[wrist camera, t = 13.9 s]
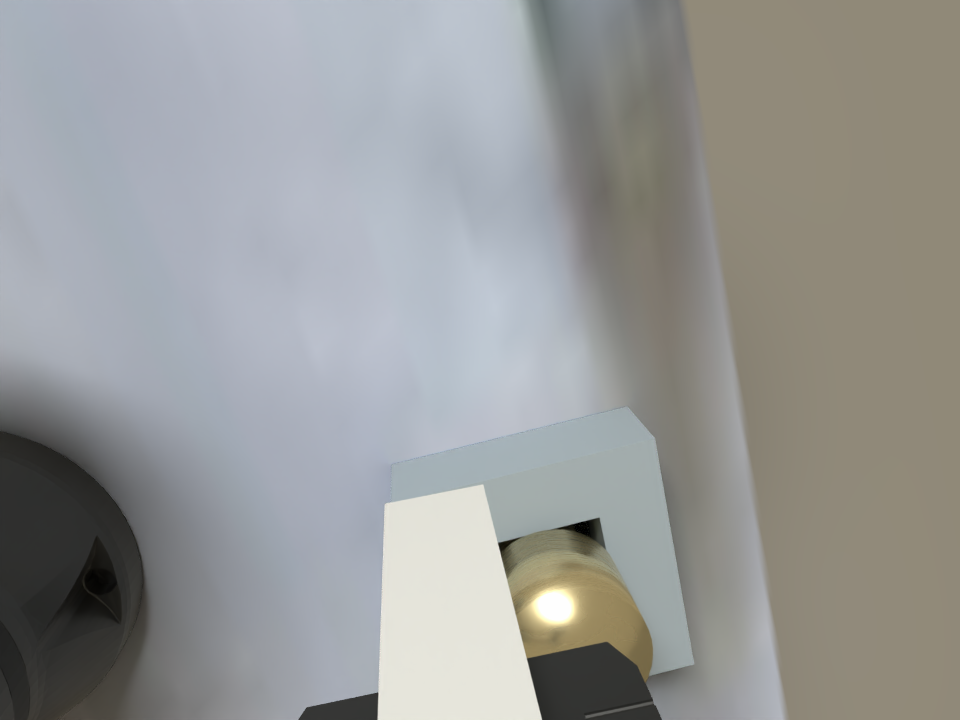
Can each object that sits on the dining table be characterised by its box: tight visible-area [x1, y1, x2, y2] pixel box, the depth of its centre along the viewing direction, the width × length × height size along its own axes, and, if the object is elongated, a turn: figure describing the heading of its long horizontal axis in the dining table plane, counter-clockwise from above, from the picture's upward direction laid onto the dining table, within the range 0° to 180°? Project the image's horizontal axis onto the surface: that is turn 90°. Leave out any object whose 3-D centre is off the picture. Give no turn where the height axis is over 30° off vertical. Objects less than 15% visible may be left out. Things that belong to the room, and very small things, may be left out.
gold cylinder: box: [498, 524, 653, 683], centre depth 37 cm, size 6×6×10 cm
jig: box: [391, 407, 694, 676], centre depth 40 cm, size 12×12×4 cm
